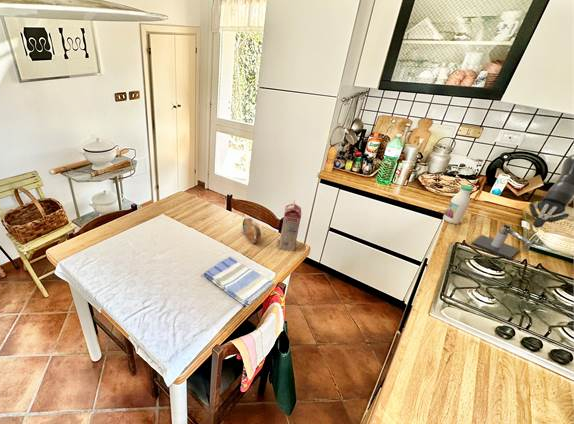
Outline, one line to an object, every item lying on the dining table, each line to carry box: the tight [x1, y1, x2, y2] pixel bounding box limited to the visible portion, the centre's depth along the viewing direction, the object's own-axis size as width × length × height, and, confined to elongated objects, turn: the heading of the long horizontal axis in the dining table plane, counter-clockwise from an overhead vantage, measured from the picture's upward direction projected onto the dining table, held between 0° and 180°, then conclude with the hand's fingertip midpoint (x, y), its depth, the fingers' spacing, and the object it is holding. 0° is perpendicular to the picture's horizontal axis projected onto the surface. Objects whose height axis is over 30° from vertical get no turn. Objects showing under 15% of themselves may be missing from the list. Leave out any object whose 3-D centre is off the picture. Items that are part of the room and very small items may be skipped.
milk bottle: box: [442, 184, 474, 225], centre depth 159 cm, size 8×8×20 cm
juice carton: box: [278, 199, 302, 252], centre depth 136 cm, size 7×7×22 cm
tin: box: [242, 217, 262, 244], centre depth 145 cm, size 15×3×8 cm, turn 16°
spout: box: [498, 224, 533, 250], centre depth 133 cm, size 14×3×4 cm, turn 0°
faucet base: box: [471, 230, 520, 260], centre depth 140 cm, size 14×12×8 cm
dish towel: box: [203, 256, 276, 308], centre depth 119 cm, size 17×24×3 cm
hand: (536, 226), depth 133 cm, fingers closed
